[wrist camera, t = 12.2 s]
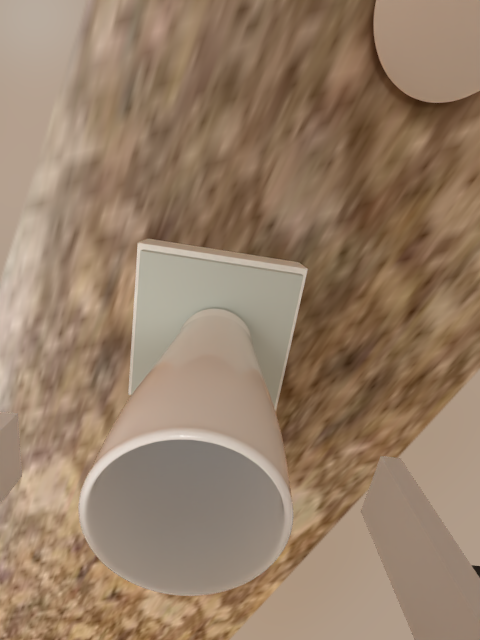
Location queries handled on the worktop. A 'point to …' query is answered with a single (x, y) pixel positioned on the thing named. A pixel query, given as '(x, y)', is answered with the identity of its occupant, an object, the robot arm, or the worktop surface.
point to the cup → (430, 47)
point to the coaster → (213, 302)
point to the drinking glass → (193, 469)
